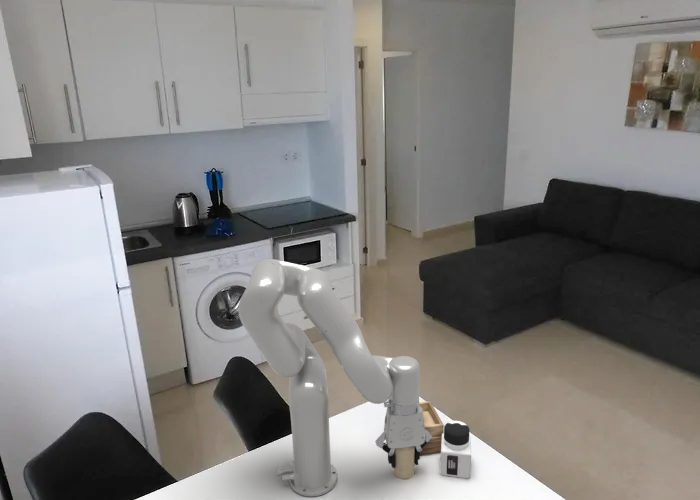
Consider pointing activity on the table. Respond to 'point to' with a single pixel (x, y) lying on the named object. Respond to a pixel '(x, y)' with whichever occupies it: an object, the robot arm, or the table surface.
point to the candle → (404, 462)
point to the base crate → (432, 446)
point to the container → (456, 450)
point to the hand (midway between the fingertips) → (403, 462)
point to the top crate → (431, 419)
